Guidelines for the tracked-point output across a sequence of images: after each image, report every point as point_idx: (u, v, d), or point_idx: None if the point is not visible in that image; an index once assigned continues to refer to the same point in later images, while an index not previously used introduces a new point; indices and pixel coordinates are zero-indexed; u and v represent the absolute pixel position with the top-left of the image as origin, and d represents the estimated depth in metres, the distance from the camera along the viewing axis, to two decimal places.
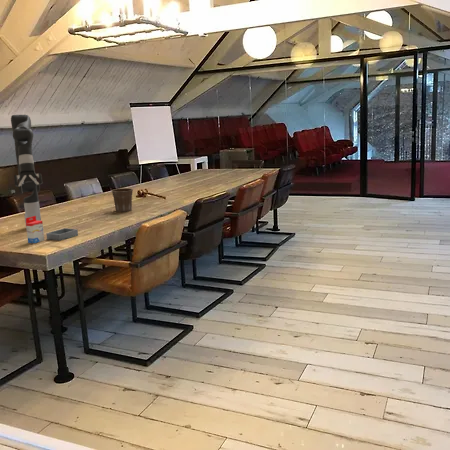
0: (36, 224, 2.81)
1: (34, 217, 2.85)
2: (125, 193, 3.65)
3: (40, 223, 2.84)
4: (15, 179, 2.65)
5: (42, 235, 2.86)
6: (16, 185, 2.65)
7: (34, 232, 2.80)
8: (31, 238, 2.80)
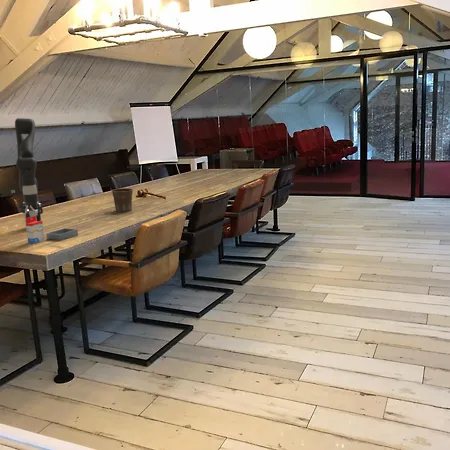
0: (36, 224, 2.81)
1: (34, 217, 2.85)
2: (125, 193, 3.65)
3: (40, 223, 2.84)
4: (22, 207, 2.82)
5: (42, 235, 2.86)
6: None
7: (34, 232, 2.80)
8: (31, 238, 2.80)
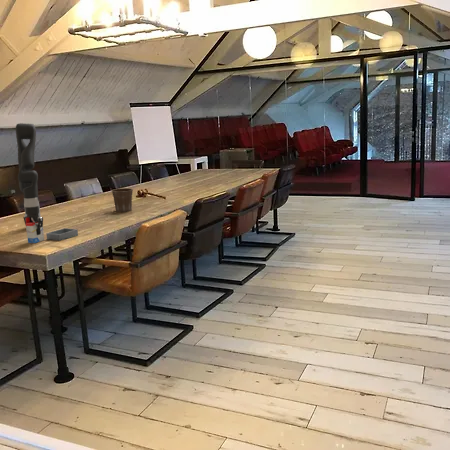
0: None
1: None
2: (125, 193, 3.65)
3: None
4: (24, 221, 2.84)
5: (42, 235, 2.86)
6: None
7: (34, 232, 2.80)
8: (31, 238, 2.80)
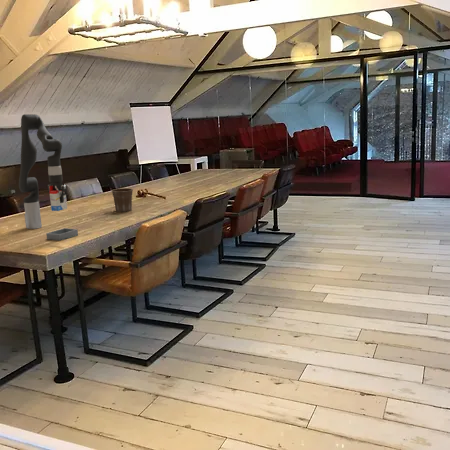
0: None
1: None
2: (125, 193, 3.65)
3: None
4: (48, 189, 2.89)
5: (65, 203, 2.91)
6: None
7: (57, 200, 2.85)
8: (54, 206, 2.85)
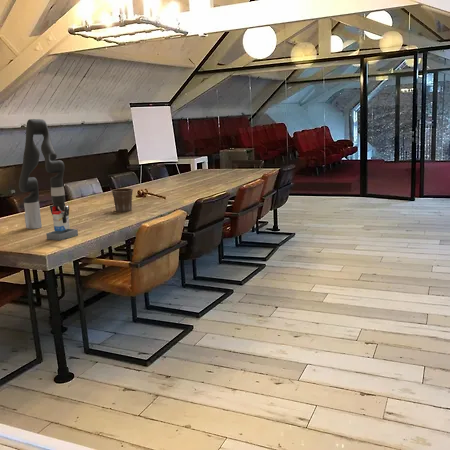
0: None
1: None
2: (125, 193, 3.65)
3: None
4: (51, 209, 2.92)
5: (68, 223, 2.94)
6: None
7: (60, 220, 2.88)
8: (57, 226, 2.88)
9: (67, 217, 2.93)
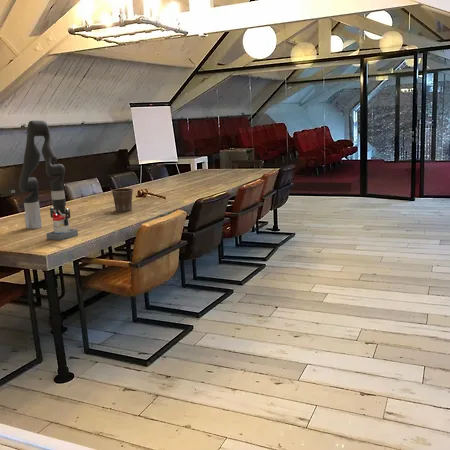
0: (62, 219, 2.90)
1: None
2: (125, 193, 3.65)
3: None
4: (50, 212, 2.92)
5: (68, 230, 2.95)
6: (52, 217, 2.93)
7: (60, 227, 2.89)
8: (57, 233, 2.89)
9: None
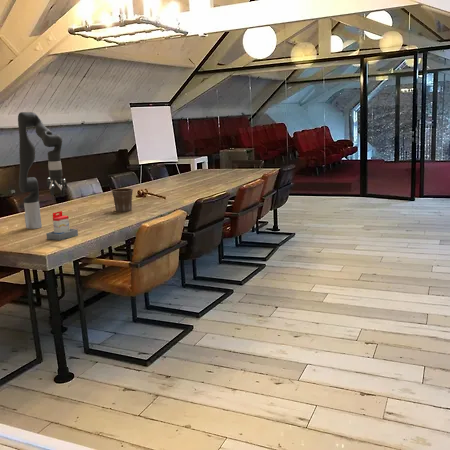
0: (62, 219, 2.90)
1: (60, 212, 2.94)
2: (125, 193, 3.65)
3: (66, 218, 2.93)
4: (47, 182, 2.94)
5: (68, 230, 2.95)
6: (48, 187, 2.95)
7: (60, 227, 2.89)
8: (57, 233, 2.89)
9: (67, 223, 2.94)
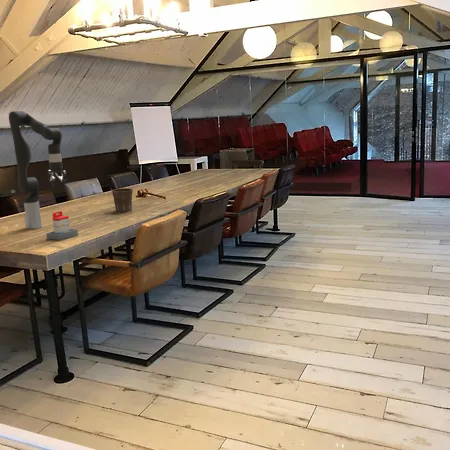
0: (62, 219, 2.90)
1: (60, 212, 2.94)
2: (125, 193, 3.65)
3: (66, 218, 2.93)
4: (48, 174, 3.04)
5: (68, 230, 2.95)
6: None
7: (60, 227, 2.89)
8: (57, 233, 2.89)
9: (67, 223, 2.94)
